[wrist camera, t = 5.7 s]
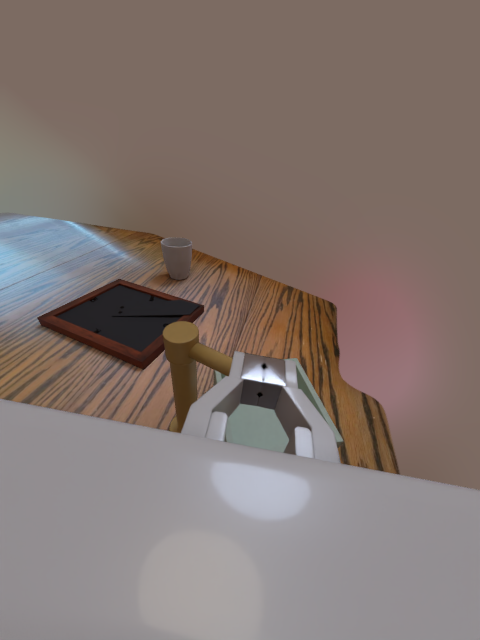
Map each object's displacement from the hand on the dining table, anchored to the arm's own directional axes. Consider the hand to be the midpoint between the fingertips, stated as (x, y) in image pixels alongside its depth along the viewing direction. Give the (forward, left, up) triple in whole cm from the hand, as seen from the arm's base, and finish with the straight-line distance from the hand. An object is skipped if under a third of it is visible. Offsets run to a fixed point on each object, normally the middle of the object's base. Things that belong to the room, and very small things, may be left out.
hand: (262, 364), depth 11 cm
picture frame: (+38, -11, -22) cm, 45 cm away
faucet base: (+10, -3, -22) cm, 25 cm away
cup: (+47, -32, -22) cm, 61 cm away
